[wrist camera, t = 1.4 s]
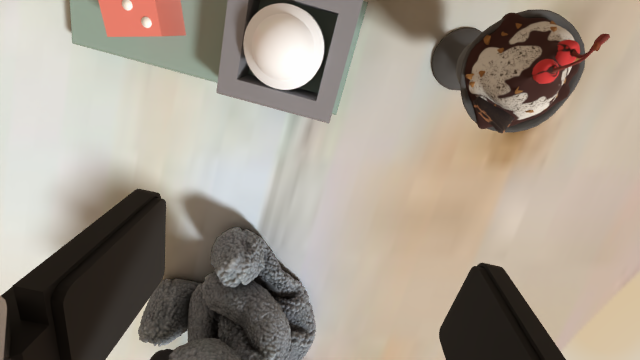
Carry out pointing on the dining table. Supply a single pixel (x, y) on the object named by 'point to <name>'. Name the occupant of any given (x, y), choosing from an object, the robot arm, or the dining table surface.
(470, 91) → the sundae
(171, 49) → the board
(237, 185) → the dining table surface
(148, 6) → the die
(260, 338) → the koala plush
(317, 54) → the dome
